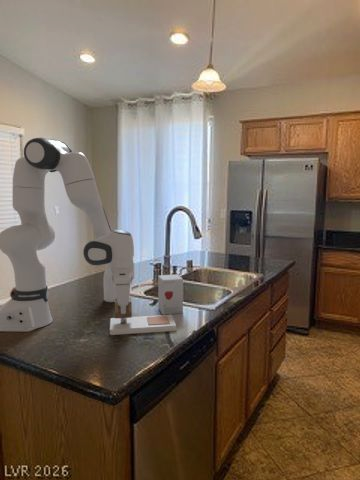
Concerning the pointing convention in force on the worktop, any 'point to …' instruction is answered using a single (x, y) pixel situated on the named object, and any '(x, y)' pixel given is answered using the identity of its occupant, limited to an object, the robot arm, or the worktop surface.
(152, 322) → the terracotta tile
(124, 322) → the metal post
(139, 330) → the white rectangular board
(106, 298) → the milk bottle
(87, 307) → the worktop surface
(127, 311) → the walnut cap
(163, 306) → the supplement box
